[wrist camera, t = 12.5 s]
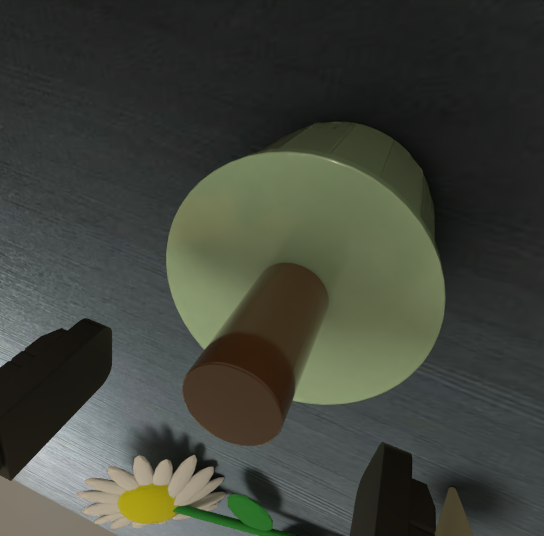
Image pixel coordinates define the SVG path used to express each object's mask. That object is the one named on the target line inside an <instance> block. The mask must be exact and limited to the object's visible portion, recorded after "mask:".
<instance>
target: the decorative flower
mask: <svg viewBox="0 0 544 536" xmlns="http://www.w3.org/2000/svg"><path fill="white" fill-rule="evenodd" d="M196 462H197V459H196V457H195V455H193V456H190V457H189V458H187V459H186V460H185V461H183V462H182V463H181V464H180V466H179V467H178V469H177V470H176V472H175V473H174V474H173V476H172V469H173V467H172V464H171V461H169V460H167V459H166V460H163V461H161V462H160V463H159V465H158V466H157V467H156V469H155V472H153V469H152V467H151V464H150V463H149V462H148V460H147V459H146V458H145V457H144V456H140V455H138V456H137V457H136V458H134V464H133V470H134V475H132V474H131V473H129V472H127V471H126V470H123V469H121V468H118V467H115V466H113V467H108V468H107V472H108V474H109V476H110V478H111V479H112V480H107V479H101V478H89V479H86V480H85V482H86V484H87V485H89V486H91V487H92V488H95V489H97V490H88V491H80V492H78V493H76V495H77V496H78V497H79V498H82V499H85V500H89V501H94V502H99V503H94V504H92V505H89V506H87V507H85V508H84V509H83V510H82V513H84V514H85V515H94V516H98V515H103V516H101V517H99V518H98V519H96V520H95V521H94V523H96V524H100V523H107V522H111V521H115V520H116V521H115V522H114V523H112V526H111V528H112V529H118V528H122V527H124V526H126V525H128V524H130V523H132V527H133V528H141V527H144V526H145V525H147V524H155V523H158V524H164V523H166V522H167V520H169V519H174V520H179V519H186V518H190V517H194V518H197V519H201V520H204V521H208V522H212V523H215V524H219V525H223V526H226V527H230V528H234V529H237V530H241V531H245V532H248V533H252V534H256V535H259V536H298V535H294V534H290V533H286V532H283V531H279V530H275V529H272V525H273V520H272V519H271V517H270V516H269V514H268V512H267V511H266V510H265V509H264V508H263V507H262V506H261V505H260V504H258V503H257V502H256V501H254V500H252V499H250V498H248V497H246V496H244V495H237V494H232V495H231V496H229V497H228V507H229V508H230V509H231V511H232V512H233V514H234V515H235V516H236V517H237V518H238V519H235V518H231V517H227V516H224V515H220V514H216V513H213V512H209V511H210V510H212V509H214V508H216V507H217V506H218V504H216V503H217V502H218V501H220V500H221V499H223V498H224V497H225V495H226V493H225V492H215V493H210V492H212V491H213V490H214V489H216V488H217V487H218V486H219V485H220V484H221V483H222V482H223V479H224V477H219V478H216V479H214V480H211V481H209V480H210V478H211V476H212V475H213V473H214V467H207V468H205V469H202V470H200V471H198V472H197V473H196V474H195V475H194V476H192V475H193V473H194V471H195V467H196ZM113 480H114V481H113ZM209 493H210V494H209Z"/></svg>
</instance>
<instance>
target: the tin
mask: <svg viewBox="0 0 544 536" xmlns="http://www.w3.org/2000/svg"><path fill="white" fill-rule="evenodd" d="M290 148H293V149H304V150H314V151H318V152H322V153H327V154H331V155H335V156H337V157H340V158H343V159H345V160H348V161H351V162H353V163H356V164H357V165H359V166H361V167H363V168H365V169H367V170H369V171H370V172H372V173H374V174H376V175H377V176H378V177H380V178H381V179H382V180H384V181H385V182H387V183H388V184H389V185H391V186H392V187H393V188H394V189H395V190H396V191H397V192H399V193H400V194H401V195H402V196H403V197H404V198H405V199H406V200H407V201H408V202H409V203H410V205H411V206H412V207H413V208H414V210H415V211H416V212H417V213H418V215H419V216H420V217H421V218H422V220H423V222H424V223H425V225H426V227H427V229H428V230H429V232H430V234H431V235H432V237H433V240H434V242H435V221H434V205H433V202H432V199H431V195H430V190H429V186H428V184H427V181H426V179H425V176H424V173H423V171H422V169H421V168H420V167H419V165H418V163H417V162H416V161H415V160H414V158H413V157H412V156H411V155H410V153H409V152H408V151H407V150H406V149H405V148H404V147H403V146H401V145H400V144H399V143H398V142H397V141H395V140H394V139H392V138H391V137H390V136H388V135H386V134H384V133H382V132H380V131H379V130H376V129H374V128H371V127H368V126H365V125H362V124H357V123H352V122H340V121H335V122H324V123H316V124H312V125H310V126H308V127H305V128H302V129H300V130H298V131H296V132H294V133H292V134H289V135H287V136H285V137H283V138H281V139H279V140H278V141H276V142H275V143H273V144H271V145H270V146H268V147H267V148H265V149H263V150H262V151H266V150H271V149H290ZM260 152H261V151H260Z"/></svg>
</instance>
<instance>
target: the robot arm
mask: <svg viewBox="0 0 544 536" xmlns="http://www.w3.org/2000/svg"><path fill="white" fill-rule="evenodd" d="M111 367H112V330H111V328H109V327H107V326H105V325H102V324H100V323H97V322H95V321H92V320H90V319H87V318H85V319H82V320H80V321H79V322H78V323H76V324H75V325H74V326H73V327H71V328H70V329H69V330H68V331H67V330H64V329H62V328H61V329H58V330H56V331H53V332H51V333H48V334H46V335H43V336H41V337H40V338H38V339H37V340H36V341H35V342H33V343H32V344H31V345H29V346H28V347H27V348H25V351H21V352H20V353H19V354H17V355H16V356H15V357H13V358H12V360H11V361H8V362H7V363H6V364H4V365H3V366H2V367H0V475H1V476H2V477H4V478H6V479H8V480H10V481H11V480H12V479H13V478H14V477H15V476H16V475H17V474H18V473H19V472H20V471H21V470H22V469H23V468H24V467H25V466H26V465H27V464H28V463H29V461H30V460H31V459H32V458H33V457H34V456H35V455H36V454H37V453H38V452H39V451H40V450H41V449H42V448H43V447H44V446H45V445H46V444H47V443H48V442H49V440H50V439H51V438H52V437H53V436H54V435H55V434H56V433H57V432H58V431H59V430H60V429H61V428H62V427H63V426H64V425H65V424H66V423H67V422H68V421H69V419H70V418H71V417H72V416H73V415H74V414H75V413H76V412H77V411H78V410H79V409H80V408H81V407H82V406H83V405H84V404H85V403H86V402H87V401H88V400H89V399H90V397H91V396H92V395H93V394H94V393H95V392H96V391H97V390H98V389H99V388H100V387H101V386H102V385H103V384H104V382H105V381H106V379H107V377H108V375H109V373H110V371H111ZM435 532H436V512H435V505H434V503H433V500H432V497H431V495H430V492H429V489H428V487H427V484H424V483H422V482H420V481H417V480H415V479H413V478H412V455H411V454H410V453H408V452H406V451H403V450H401V449H398V448H396V447H394V446H391V445H389V444H386V443H384V442H382V443H381V444H380V445H379V447H378V449H377V451H376V452H375V454H374V456H373V458H372V460H371V461H370V463H369V465H368V467H367V469H366V470H365V472H364V474H363V476H362V478H361V481H360V484H359V487H358V491H357V495H356V500H355V506H354V513H353V519H352V525H351V531H350V536H435Z"/></svg>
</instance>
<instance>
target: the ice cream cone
mask: <svg viewBox="0 0 544 536" xmlns="http://www.w3.org/2000/svg"><path fill="white" fill-rule="evenodd" d="M435 536H473V533H472V530H471V528H470V525H469V522H468V520H467V517H466V514H465V512H464V509H463V507H462V504H461V501H460V499H459V496H458V493H457V491H456V489H455V488H454V487H449V489H448V492H447V496H446V499H445V502H444V505H443V509H442V512H441V515H440V518H439V522H438V525H437V528H436V532H435Z"/></svg>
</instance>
